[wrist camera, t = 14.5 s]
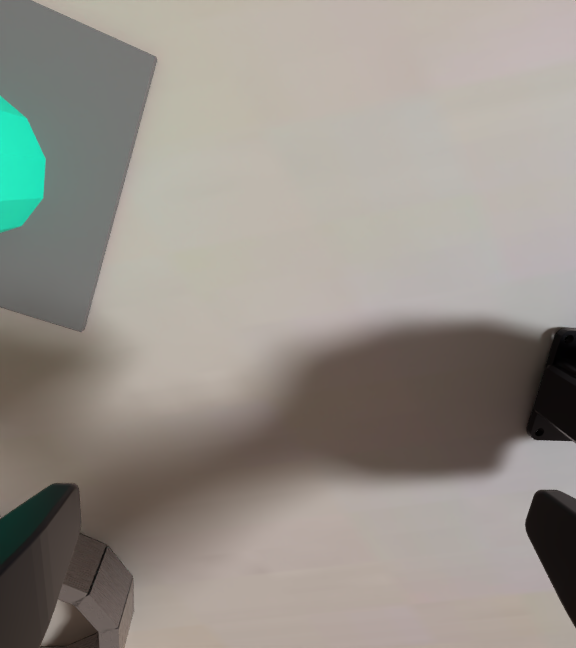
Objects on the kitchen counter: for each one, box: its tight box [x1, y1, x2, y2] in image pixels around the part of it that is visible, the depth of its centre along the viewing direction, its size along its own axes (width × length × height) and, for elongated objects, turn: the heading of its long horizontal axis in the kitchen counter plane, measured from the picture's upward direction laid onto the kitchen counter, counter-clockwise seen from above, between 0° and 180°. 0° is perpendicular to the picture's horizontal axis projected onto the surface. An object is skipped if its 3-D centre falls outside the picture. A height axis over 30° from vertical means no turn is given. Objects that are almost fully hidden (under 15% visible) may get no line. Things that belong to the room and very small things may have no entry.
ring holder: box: [39, 533, 134, 648], centre depth 23 cm, size 10×10×3 cm
